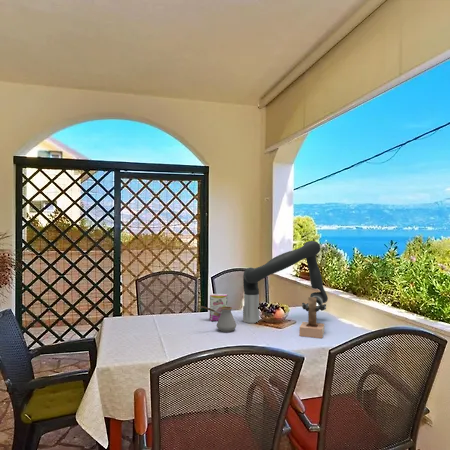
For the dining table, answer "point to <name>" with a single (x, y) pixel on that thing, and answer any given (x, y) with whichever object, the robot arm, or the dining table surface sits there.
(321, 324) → the socket block
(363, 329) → the dining table surface
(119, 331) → the dining table surface
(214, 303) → the candy bar box
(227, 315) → the coffee pot
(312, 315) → the walnut peg
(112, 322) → the dining table surface
